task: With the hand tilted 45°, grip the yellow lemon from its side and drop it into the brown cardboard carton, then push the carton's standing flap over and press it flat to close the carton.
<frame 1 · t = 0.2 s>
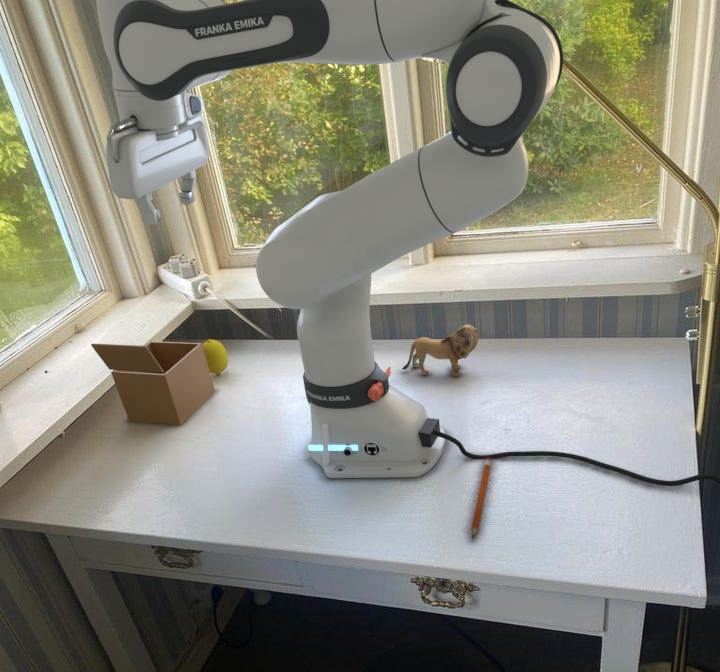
hand: (171, 213, 107), 39 cm above the table, tool pointing down, fingers open, 8 cm apart
flap: (127, 358, 128), point 14 cm above the table, hinge at 110.0°
pencil: (481, 499, 105), on the table
carton: (172, 405, 141), on the table
lion figurine: (443, 370, 139), on the table
lemon: (218, 375, 150), on the table
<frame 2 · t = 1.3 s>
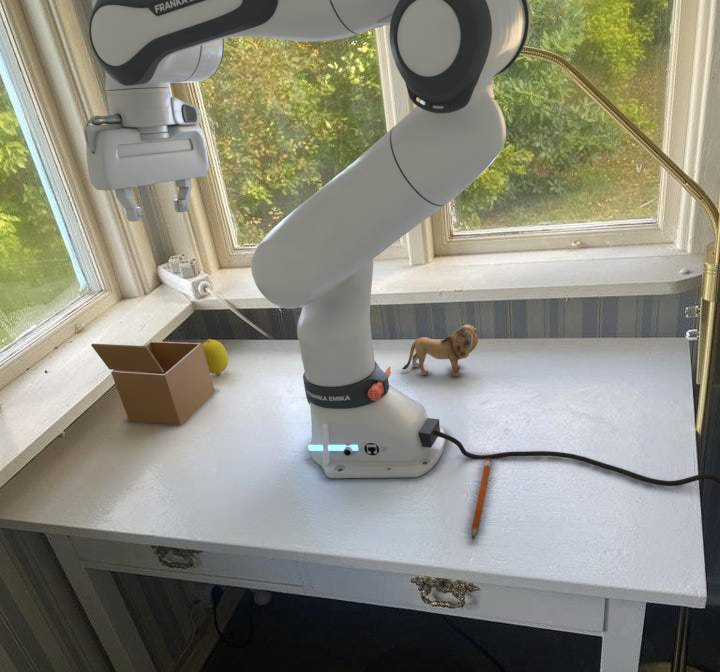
hand: (159, 216, 109), 38 cm above the table, tool pointing down, fingers open, 8 cm apart
nothing on the table moved.
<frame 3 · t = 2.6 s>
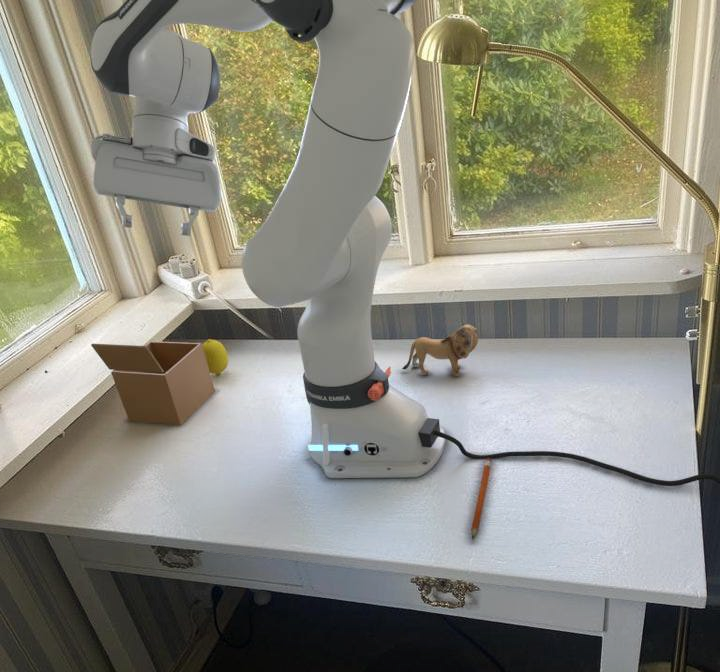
hand: (156, 231, 120), 33 cm above the table, tool tilted 30°, fingers open, 8 cm apart
nothing on the table moved.
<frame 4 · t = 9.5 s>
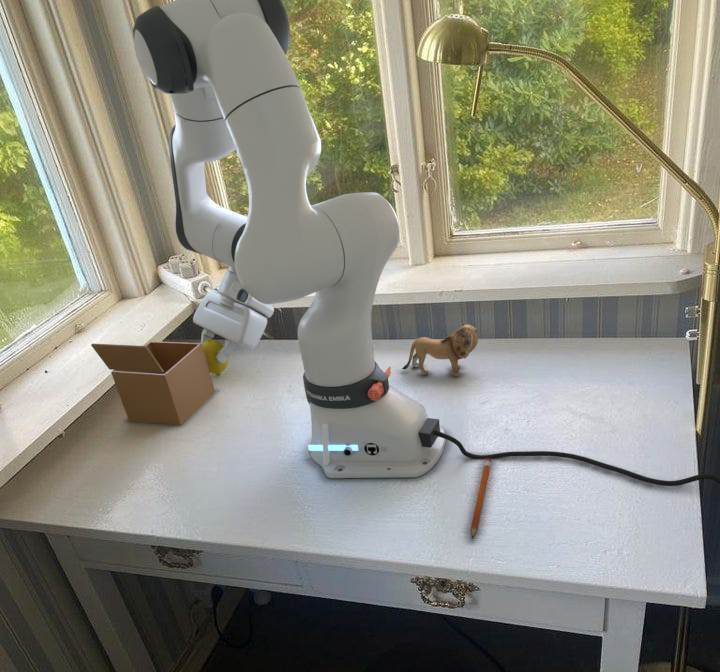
hand: (210, 356, 147), 4 cm above the table, tool tilted 45°, fingers closed on lemon, 5 cm apart
lemon: (218, 375, 150), on the table, touching gripper
everything else where it was.
when the fingers open (12 cm above the table, at t = 16.9 s): lemon drops 6 cm, resting on carton.
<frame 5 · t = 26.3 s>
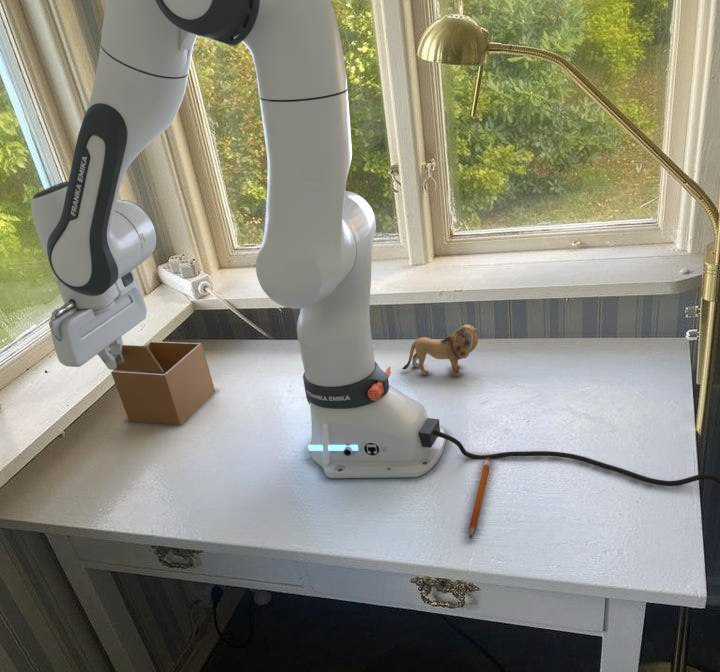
hand: (116, 365, 125), 14 cm above the table, tool pointing down, fingers closed
flap: (127, 358, 128), point 14 cm above the table, hinge at 110.1°, touching gripper
lemon: (171, 400, 140), point 1 cm above the table, touching carton
everything else where it was.
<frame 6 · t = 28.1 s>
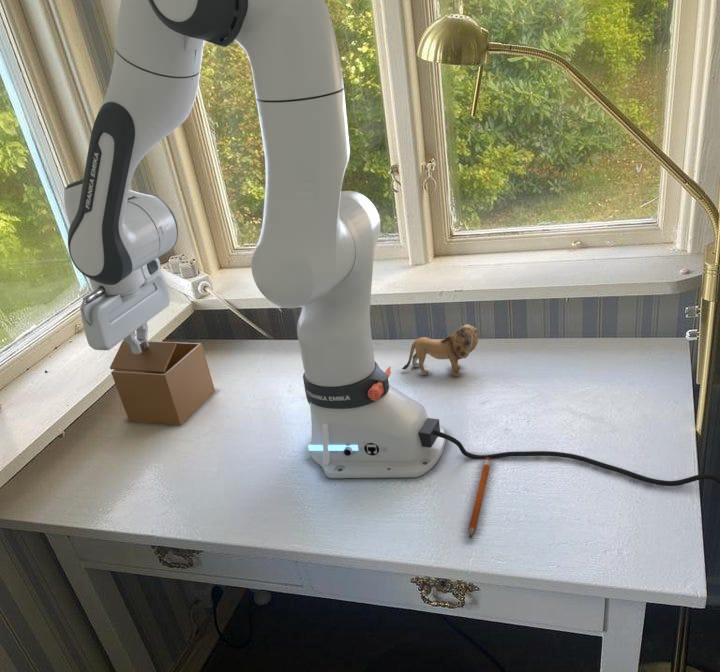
hand: (141, 350, 131), 14 cm above the table, tool pointing down, fingers closed
flap: (143, 356, 132), point 12 cm above the table, hinge at 26.3°, touching gripper
everything else where it was.
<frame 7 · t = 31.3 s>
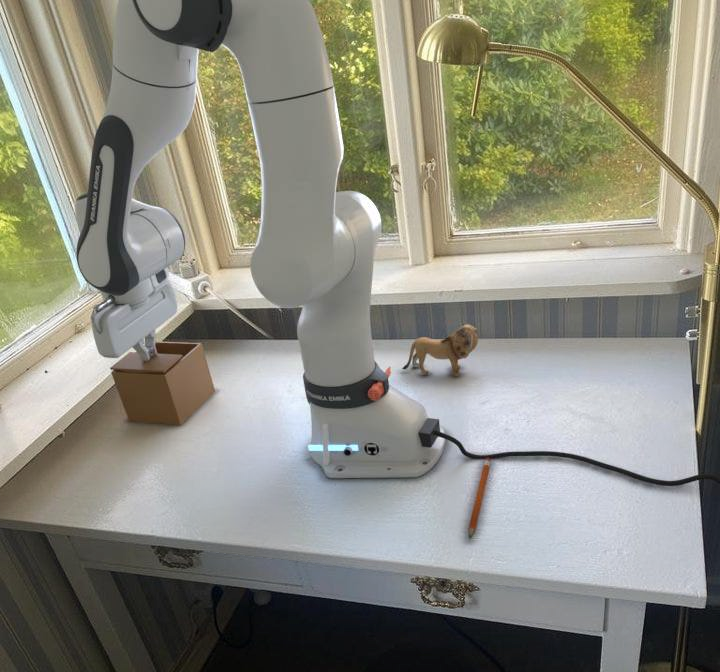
hand: (149, 357, 133), 11 cm above the table, tool pointing down, fingers closed, pressing on flap
flap: (146, 362, 133), point 11 cm above the table, hinge at 0.5°, touching gripper
everything else where it was.
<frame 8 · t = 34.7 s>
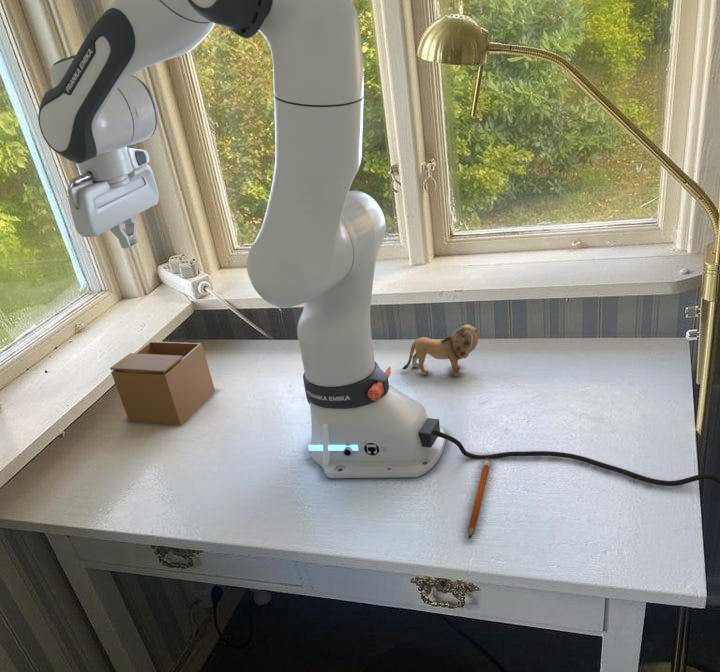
hand: (130, 245, 131), 29 cm above the table, tool pointing down, fingers closed
flap: (146, 362, 133), point 11 cm above the table, hinge at -1.4°
everything else where it was.
at the end: lemon inside the target area in the carton (0.4 cm from its centre), point 1.3 cm above the carton's base; flap at -1° (first picture: +110°) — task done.
